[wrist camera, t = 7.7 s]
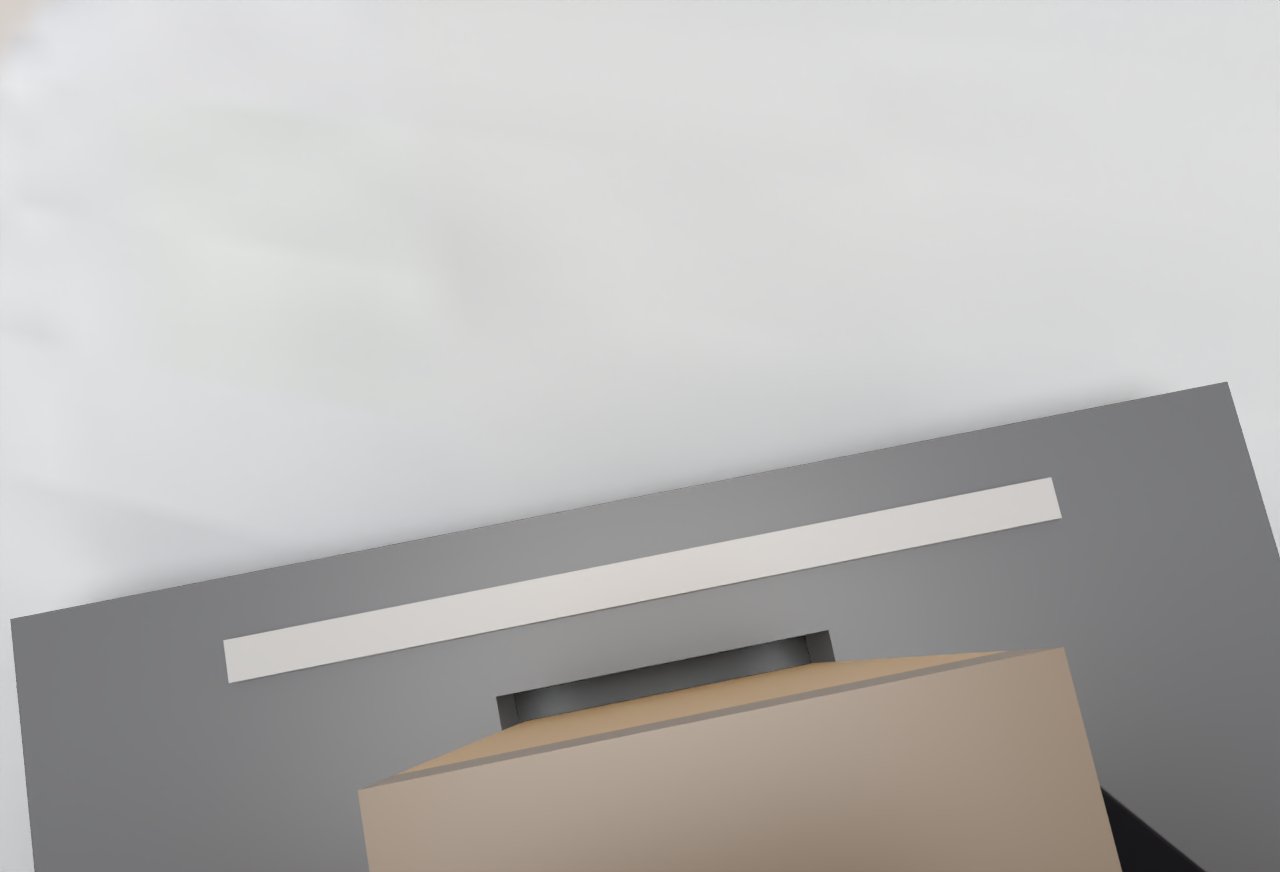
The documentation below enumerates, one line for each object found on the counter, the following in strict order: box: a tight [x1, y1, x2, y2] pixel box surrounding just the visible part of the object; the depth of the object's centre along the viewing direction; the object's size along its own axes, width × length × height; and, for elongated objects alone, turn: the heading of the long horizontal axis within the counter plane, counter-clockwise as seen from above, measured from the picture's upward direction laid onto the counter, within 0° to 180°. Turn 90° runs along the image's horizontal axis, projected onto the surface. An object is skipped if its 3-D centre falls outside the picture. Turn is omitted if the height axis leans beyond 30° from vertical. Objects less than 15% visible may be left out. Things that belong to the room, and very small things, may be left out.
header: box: [10, 382, 1280, 872], centre depth 18 cm, size 8×18×3 cm, turn 101°
